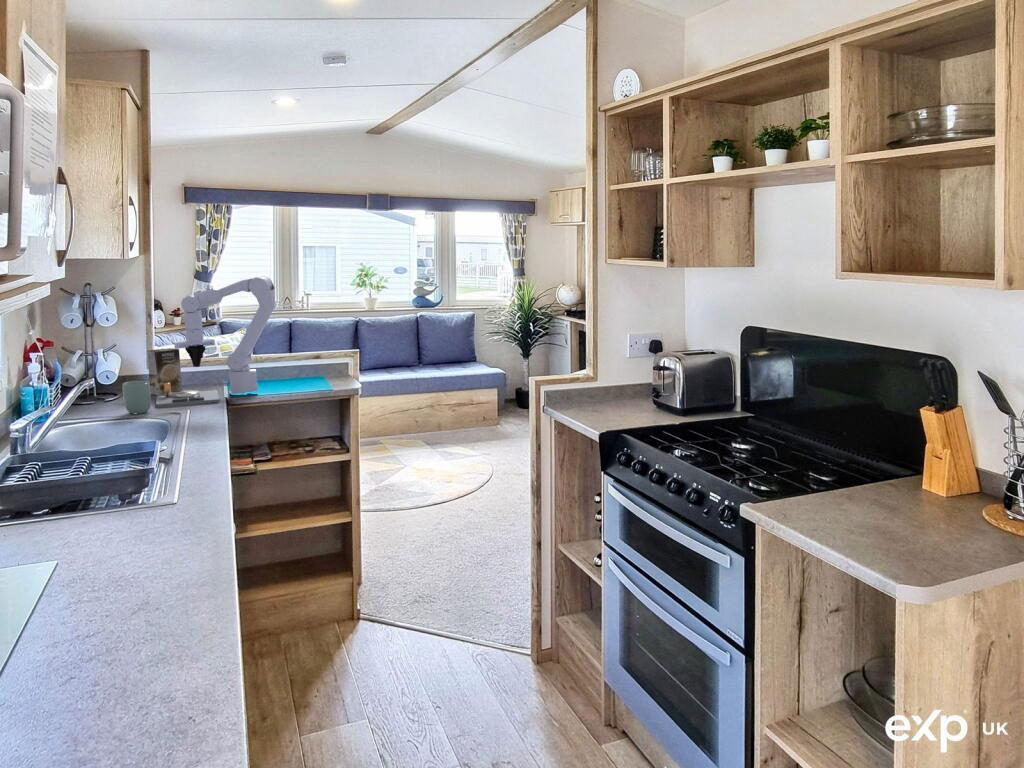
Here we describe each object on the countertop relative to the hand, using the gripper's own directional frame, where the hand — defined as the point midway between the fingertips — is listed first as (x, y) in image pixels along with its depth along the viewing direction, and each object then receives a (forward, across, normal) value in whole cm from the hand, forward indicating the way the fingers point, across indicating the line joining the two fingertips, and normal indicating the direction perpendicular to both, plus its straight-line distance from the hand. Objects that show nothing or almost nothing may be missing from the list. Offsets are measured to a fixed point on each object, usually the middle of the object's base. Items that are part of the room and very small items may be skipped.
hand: (196, 366), depth 267 cm
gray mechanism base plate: (+10, +8, +6) cm, 14 cm away
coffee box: (+11, +5, -13) cm, 18 cm away
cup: (+11, +28, +12) cm, 32 cm away
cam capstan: (+9, +9, +4) cm, 13 cm away
